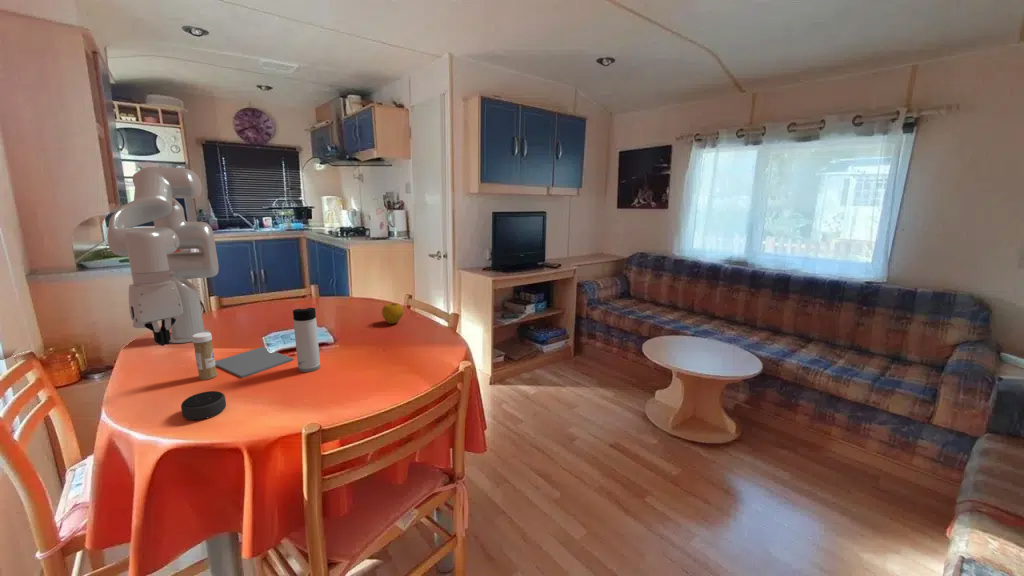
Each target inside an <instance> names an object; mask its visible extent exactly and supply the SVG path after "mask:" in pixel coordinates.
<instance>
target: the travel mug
mask: <svg viewBox="0 0 1024 576" xmlns="http://www.w3.org/2000/svg"><path fill="white" fill-rule="evenodd" d="M316 314H317V313H316V308H315V307H307V308H295V309H293V310H292V316H293V329H294V338H295V347H296V348H295V349H296V358H297V359H296V361H297V370H298V371H299V372H303V373H312V372H315V371H317V370H319V369H320V368H321V361H320V360H321V359H320V347H319V338H318V337H319V336H318V334H319V333H318V324H317V323H318V322H317V315H316Z"/></svg>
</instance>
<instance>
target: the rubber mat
mask: <svg viewBox="0 0 1024 576" xmlns="http://www.w3.org/2000/svg"><path fill="white" fill-rule="evenodd" d="M267 349H268V347H267V348H266V347H264V346H261V347H257V348H254V349H251V350H248V351H244V352H240V353H237V354H234V355H230V356H227V357H225V358H221V359H218V360H215V366H216V367H217V368H219V369H221V370H224V371H226V372H228V373H230V374H232V375H234V376H236V377H240V378H241V379H244V378H247V377H249V376H253V375H254V374H258V373H261V372H263V371H266V370H270V369H272V368H274V367H278V366H281V365H283V364H287V363H289V362H292V361H294V357H290V356H287V355H285V354H282V353H280V352H277V351H275V352H276V353H269V352H268V351H267Z"/></svg>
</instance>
